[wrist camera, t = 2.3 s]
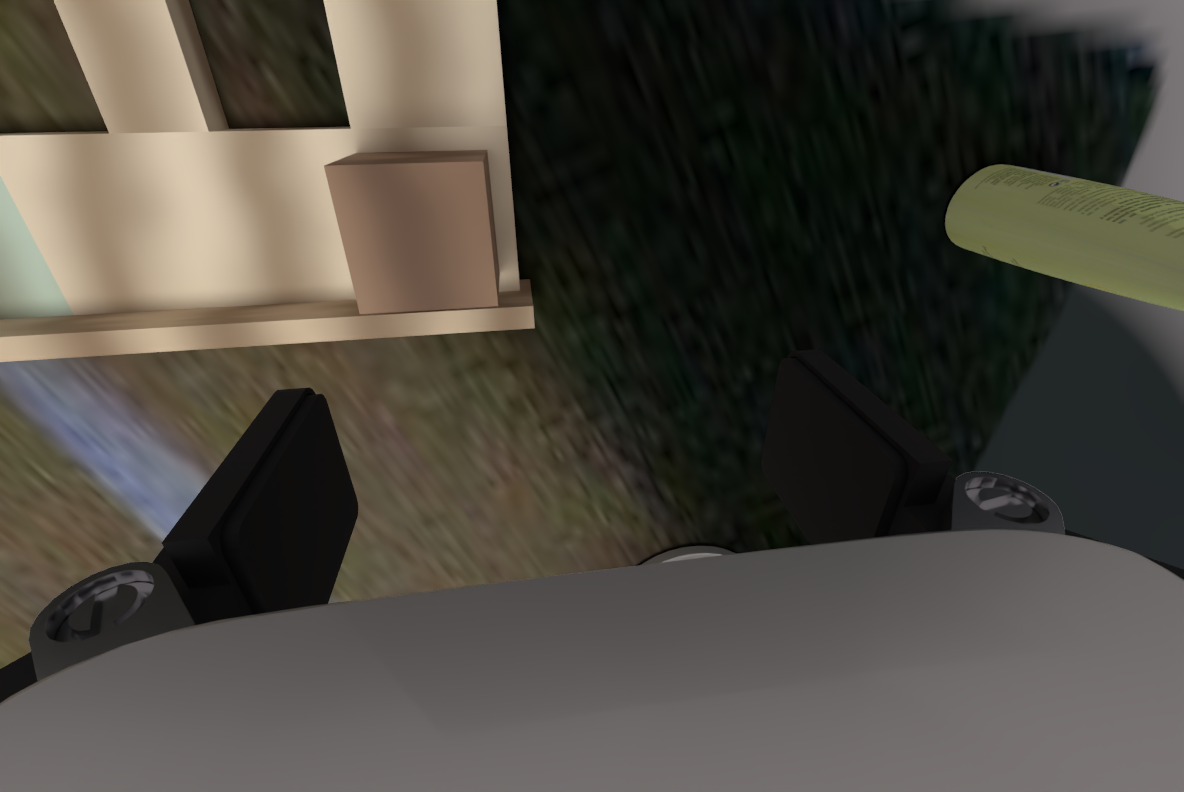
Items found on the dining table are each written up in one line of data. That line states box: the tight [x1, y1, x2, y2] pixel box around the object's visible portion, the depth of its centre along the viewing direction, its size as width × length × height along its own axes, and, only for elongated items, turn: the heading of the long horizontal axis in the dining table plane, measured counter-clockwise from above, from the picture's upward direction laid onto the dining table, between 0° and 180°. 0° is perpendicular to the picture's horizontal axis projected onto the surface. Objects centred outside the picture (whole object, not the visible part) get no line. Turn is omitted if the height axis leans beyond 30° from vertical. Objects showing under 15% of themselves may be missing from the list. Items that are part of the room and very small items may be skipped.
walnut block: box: [324, 150, 500, 314], centre depth 24 cm, size 6×6×5 cm
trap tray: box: [0, 0, 535, 362], centre depth 24 cm, size 30×15×4 cm, turn 91°
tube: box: [945, 164, 1184, 311], centre depth 24 cm, size 6×5×20 cm
